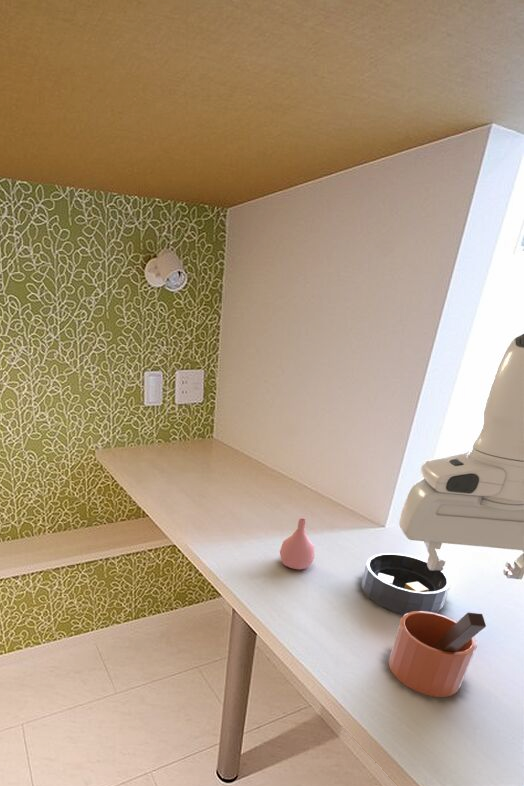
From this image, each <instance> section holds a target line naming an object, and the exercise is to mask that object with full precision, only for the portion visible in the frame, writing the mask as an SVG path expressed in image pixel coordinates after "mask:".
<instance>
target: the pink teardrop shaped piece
mask: <svg viewBox="0 0 524 786" xmlns="http://www.w3.org/2000/svg"><path fill="white" fill-rule="evenodd" d="M306 523H307V519H305V518H303V517H302V518H301V517H300V518H298V522H297V527H296V530H295V531H294V532H293V533H292V535H290V536H289V537H287V538H285V539H284V540H283V541H282V544H281V546H280V549H279V556H280V560H281V563H282V564H283V565H284V566H285V567H288V568H290V569H292V570H306V569H308V568H309V567H310V566H311V565H312V563H313V561H314V559H315V555H316V554H315V551H316V550H315V545H314V544H313V543H312V541H311V540H310V539H309V537H308V535H307V533H306V530H305V529H306Z"/></svg>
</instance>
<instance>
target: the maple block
mask: <svg viewBox="0 0 524 786" xmlns="http://www.w3.org/2000/svg"><path fill="white" fill-rule="evenodd" d="M377 577H379V578H380V579H382V580H384V581H385V582H387V583H389V584H392V583H393V580H394V577H393V576H389V575H386V574H382V573H379V574H378V576H377Z"/></svg>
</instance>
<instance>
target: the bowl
mask: <svg viewBox="0 0 524 786" xmlns="http://www.w3.org/2000/svg"><path fill="white" fill-rule="evenodd" d="M427 561H428V560H425V559H423V558H422V559H421V558H419V557H417V556H413V555H408V554H404V553H393V552H388V553H378V554H374V555H372V556H371V557H369V558H367V560H366V564H365V567H364V572H363V576H362V580H361V584H360V585H361V589H362V592H363V593H364V594H365V596H366V597H367V598H368V599H369V600H370V601H373V602H374V603H375V604H376V605H378V606H380V607H382V608H384V609H387V610H389V611H391V612H395V613H398V614H400V615H401V614H402V615H405V614H407V613H410V612H413V611H426V612H433V613H437V614H439V612H440V611H441V610H442V609H443V608H444V605H445V602H446V599H447V596H448V594H449V593H448V592H449V591H450V587H451V579H450V578H449V576H448V574H447V573H446V572H445V571H444V570H443V571H434V570H429V568H428V566H427ZM379 573H382V574H386V575H389V576H393V577H394V580H393V583H392V584H389V583H387V582H385V581H384V580H382V579H380V578H379V577H377V576H378V574H379ZM417 581H418V582H419V583H421V584H422V585H423V586H425V587H426V588H428V589H429V591H428V592H418V591H410V590H407V589H404V587H405V584H406V583H411V582H417Z"/></svg>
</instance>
